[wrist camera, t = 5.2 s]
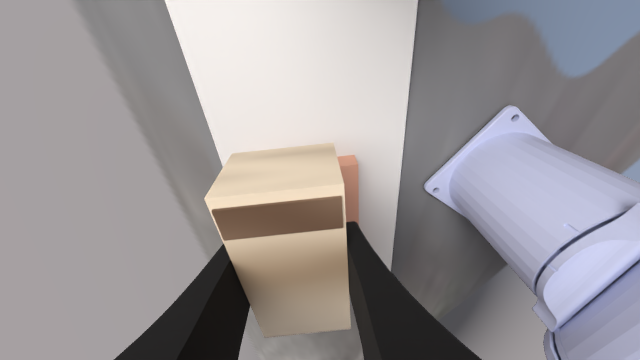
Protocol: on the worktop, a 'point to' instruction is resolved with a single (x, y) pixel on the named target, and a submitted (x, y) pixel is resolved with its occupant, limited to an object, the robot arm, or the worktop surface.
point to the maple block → (286, 236)
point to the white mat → (308, 85)
